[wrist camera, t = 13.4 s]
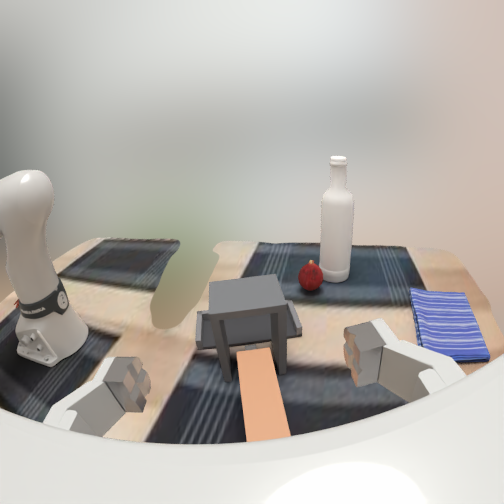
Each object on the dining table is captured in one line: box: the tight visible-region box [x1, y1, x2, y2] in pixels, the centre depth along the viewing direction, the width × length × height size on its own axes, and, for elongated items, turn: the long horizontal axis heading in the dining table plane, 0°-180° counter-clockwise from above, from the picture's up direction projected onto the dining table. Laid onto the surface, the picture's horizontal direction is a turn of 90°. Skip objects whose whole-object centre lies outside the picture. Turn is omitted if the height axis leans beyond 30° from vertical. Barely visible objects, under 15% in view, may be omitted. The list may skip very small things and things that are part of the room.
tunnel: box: [209, 274, 287, 382], centre depth 43 cm, size 10×8×15 cm
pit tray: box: [196, 300, 302, 350], centre depth 54 cm, size 20×9×2 cm, turn 97°
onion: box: [298, 260, 323, 291], centre depth 62 cm, size 6×6×8 cm
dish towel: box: [409, 288, 490, 362], centre depth 46 cm, size 17×24×3 cm
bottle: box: [319, 156, 354, 283], centre depth 63 cm, size 8×8×30 cm
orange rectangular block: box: [237, 347, 291, 442], centre depth 31 cm, size 5×14×10 cm, turn 7°
